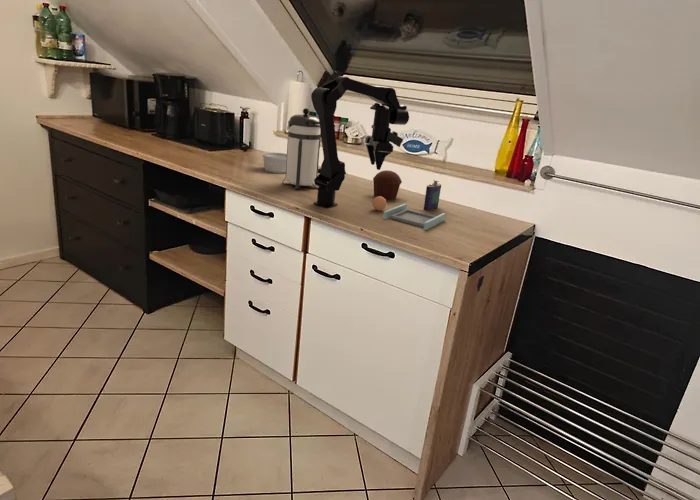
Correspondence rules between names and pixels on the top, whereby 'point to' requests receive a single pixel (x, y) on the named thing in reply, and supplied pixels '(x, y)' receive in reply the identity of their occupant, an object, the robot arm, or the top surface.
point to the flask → (432, 196)
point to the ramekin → (275, 162)
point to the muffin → (386, 184)
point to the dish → (412, 217)
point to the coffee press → (303, 150)
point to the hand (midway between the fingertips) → (375, 167)
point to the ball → (379, 203)
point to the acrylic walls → (427, 224)
